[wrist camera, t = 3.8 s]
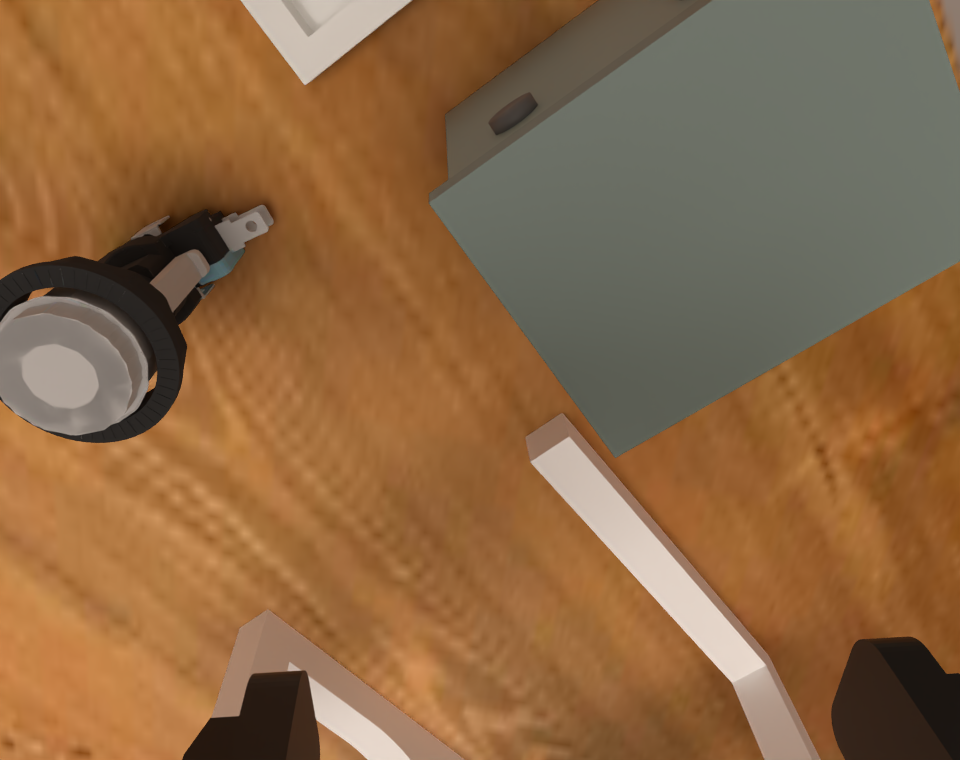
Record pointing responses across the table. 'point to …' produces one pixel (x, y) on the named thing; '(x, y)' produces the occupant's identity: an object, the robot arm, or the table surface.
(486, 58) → the table surface
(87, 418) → the push button
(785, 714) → the bookend
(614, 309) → the box
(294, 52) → the tray
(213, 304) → the table surface
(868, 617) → the table surface
